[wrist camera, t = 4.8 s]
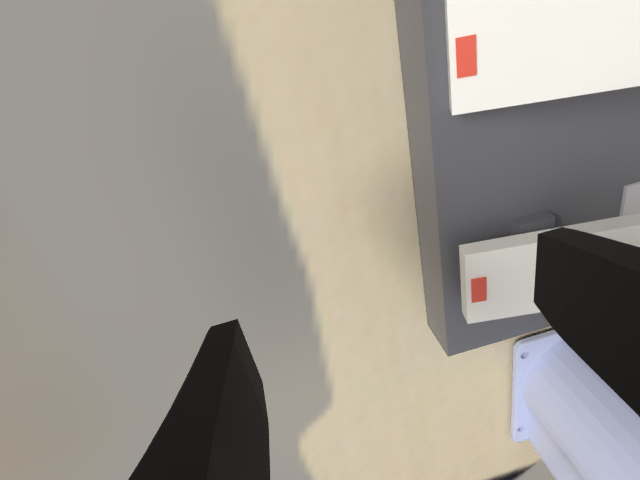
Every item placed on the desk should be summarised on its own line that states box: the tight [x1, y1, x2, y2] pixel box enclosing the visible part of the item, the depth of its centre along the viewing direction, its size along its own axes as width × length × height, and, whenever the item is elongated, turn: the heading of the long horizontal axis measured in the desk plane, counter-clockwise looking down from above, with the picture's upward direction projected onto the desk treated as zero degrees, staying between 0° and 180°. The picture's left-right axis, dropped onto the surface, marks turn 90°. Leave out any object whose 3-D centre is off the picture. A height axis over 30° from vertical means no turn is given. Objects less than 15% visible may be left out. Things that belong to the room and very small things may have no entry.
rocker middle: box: [444, 0, 640, 115], centre depth 13 cm, size 4×7×1 cm, turn 102°
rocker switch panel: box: [395, 0, 640, 356], centre depth 15 cm, size 28×12×3 cm, turn 12°
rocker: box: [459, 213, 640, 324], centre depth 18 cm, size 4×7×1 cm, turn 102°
